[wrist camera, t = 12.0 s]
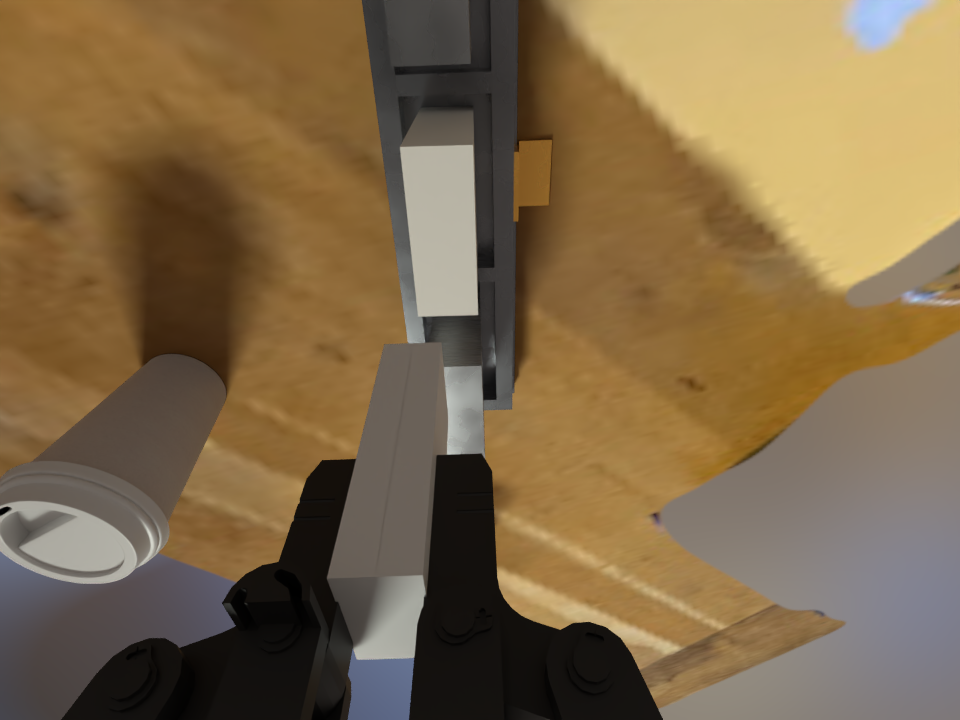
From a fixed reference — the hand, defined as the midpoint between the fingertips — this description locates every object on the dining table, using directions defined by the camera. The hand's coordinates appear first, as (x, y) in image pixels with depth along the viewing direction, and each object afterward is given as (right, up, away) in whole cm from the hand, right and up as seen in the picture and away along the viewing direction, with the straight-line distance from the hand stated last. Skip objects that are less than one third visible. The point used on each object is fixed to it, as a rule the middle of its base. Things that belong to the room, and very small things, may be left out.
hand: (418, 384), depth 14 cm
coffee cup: (-22, -1, +28) cm, 36 cm away
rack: (+1, +12, +18) cm, 22 cm away
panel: (0, +12, +17) cm, 21 cm away
